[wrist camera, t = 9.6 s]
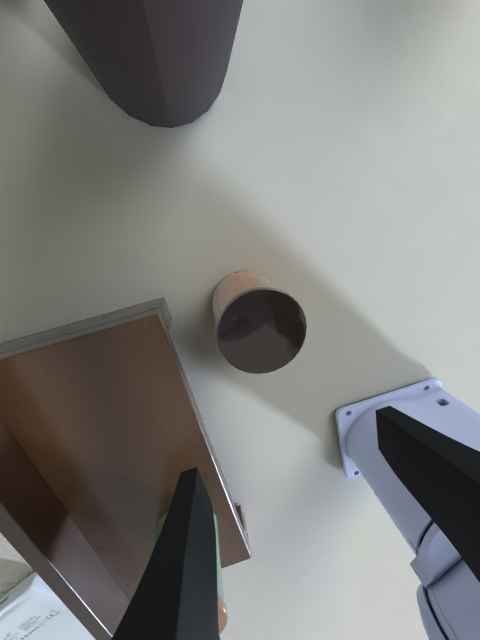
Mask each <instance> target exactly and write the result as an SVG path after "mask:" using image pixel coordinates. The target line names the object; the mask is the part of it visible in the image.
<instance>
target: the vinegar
mask: <svg viewBox="0 0 480 640" xmlns="http://www.w3.org/2000/svg"><path fill="white" fill-rule="evenodd" d="M44 1H45V3H46V4H47V6H48V7H49V9H50V10H51V12H52V13H53V14H54V16H55V17H56V19H57V20H58V22H59V23H60V25H61V26H62V28H63V29H64V31H65V32H66V34H67V35H68V37H69V38H70V40H71V41H72V43H73V44H74V45H75V47H76V48H77V50H78V51H79V53H80V54H81V56H82V57H83V59H84V60H85V62H86V63H87V65H88V66H89V68H90V69H91V71H92V72H93V74H94V75H95V77H96V78H97V79H98V81H99V82H100V84H101V85H102V87H103V88H104V90H105V91H106V93H107V94H108V96H109V97H110V99H111V100H113V101H114V102H115V103H116V104H117V105H118V106H119V107H120V108H122V109H123V110H124V111H125V112H126V113H127V114H128V115H129V116H131V117H133V118H136V119H138V120H140V121H142V122H144V123H146V124H148V125H151V126H159V127H168V128H173V127H177V126H181V125H185V124H188V123H192V122H193V121H194V120H196V119H197V118H198V117H200V116H201V115H203V114H204V113H205V112H207V111H208V110H209V108H210V107H211V105H212V104H213V102H214V101H215V99H216V98H217V96H218V95H219V93H220V91H221V88H222V85H223V81H224V78H225V75H226V72H227V68H228V64H229V59H230V55H231V51H232V47H233V42H234V38H235V34H236V29H237V25H238V21H239V17H240V12H241V8H242V4H243V0H44Z"/></svg>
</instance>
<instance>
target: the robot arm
mask: <svg viewBox="0 0 480 640" xmlns="http://www.w3.org/2000/svg"><path fill="white" fill-rule="evenodd" d="M348 411H349V412H348ZM346 412H348V413H346ZM335 416H336V423H337V429H338V436H339V442H340V449H341V456H342V462H343V469H344V474H345V476H346V477H347V478H354V477H357V476H360V475H363V477H364V478H365V480H366V481H367V483H368V484H369V486H370V487H371V489H372V490H373V492H374V493H375V495H376V496H377V498H378V499H379V501H380V502H381V504H382V505H383V507H384V508H385V510H386V511H387V513H388V514H389V516H390V517H391V519H392V520H393V522H394V523H395V525H396V526H397V528H398V529H399V531H400V532H401V534H402V535H403V537H404V538H405V540H406V541H407V543H408V544H409V546H410V547H411V549H412V550H413V552H414V553H415V555H416V557H415V559H414V560H413V561H412V562H411V563H410V565H411V567H412V568H413V570H414V571H415V573H416V575H417V576H418V578H419V579H420V581H421V584H420V585H419V587H418V589H417V601H418V605H419V609H420V614H421V619H422V622H423V625H424V628H425V631H426V633H427V635H428V638H429V640H480V414H478V413H477V412H475V411H474V410H473V409H471V408H470V407H468V406H467V405H465V404H464V403H462V402H461V401H459V400H458V399H456V398H455V397H453V396H452V395H450V394H449V393H447V392H446V391H445V390H443V389H442V381H441V380H440V379H438V378H432V379H429V380H426V381H422V382H419V383H416V384H413V385H410V386H407V387H404V388H401V389H398V390H395V391H392V392H388V393H385V394H382V395H379V396H376V397H373V398H370V399H367V400H364V401H361V402H357V403H354V404H351V405H348V406H345V407H342V408H339V409H338V410H337V411H336V412H335ZM111 640H220V637H219V622H218V592H217V553H216V531H215V522H214V514H213V506H212V502H211V499H210V497H209V494H208V492H207V490H206V487H205V485H204V482H203V480H202V477H201V475H200V472H199V470H198V468H197V467H195V468H192V469H189V470H186V471H183V472H181V473H180V475H179V479H178V482H177V485H176V489H175V492H174V495H173V498H172V501H171V504H170V507H169V510H168V513H167V516H166V518H165V521H164V524H163V526H162V529H161V532H160V535H159V537H158V540H157V542H156V545H155V547H154V550H153V552H152V554H151V557H150V559H149V562H148V564H147V566H146V569H145V571H144V573H143V576H142V578H141V580H140V582H139V584H138V587H137V589H136V591H135V593H134V595H133V597H132V599H131V601H130V603H129V605H128V607H127V610H126V612H125V614H124V616H123V617H122V619H121V621H120V623H119V625H118V627H117V629H116V631H115V633H114V635H113V637H112V639H111Z"/></svg>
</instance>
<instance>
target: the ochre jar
mask: <svg viewBox="0 0 480 640" xmlns="http://www.w3.org/2000/svg"><path fill="white" fill-rule="evenodd" d="M212 310H213V314H214V319H215V323H216V328H217V330H216V334H217V341H218V345H219V348H220V351H221V353H222V355H223V356H224V358H225V359H226V360H227V361H228V362H229V363H230V364H231V365H233V366H234V367H235V368H237V369H239V370H242V371H244V372H248V373H255V374H261V373H268V372H272V371H275V370H277V369H279V368H281V367H283V366H285V365H286V364H288V363H289V362H290V361H291V360H292V359H293V358H294V357H295V356H296V355H297V353H298V352H299V351H300V349H301V347H302V345H303V343H304V340H305V336H306V319H305V315H304V312H303V310H302V308H301V306H300V305H299V304H298V302H297V301H296V300H295V299H294V298H293V297H291V296H290V295H289V294H287V293H286V292H284V291H282V290H280V289H278V288H277V287H276V286H274V285H273V284H272V283H271V282H269V281H268V280H267V279H266V278H264V277H263V276H262V275H260V274H258V273H255V272H251V271H240V272H236V273H233V274H231V275H229V276H227V277H226V278H224V279H223V280H222V281H221V282H220V283H219V284H218V286H217V287H216V289H215V291H214V294H213V298H212Z"/></svg>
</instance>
